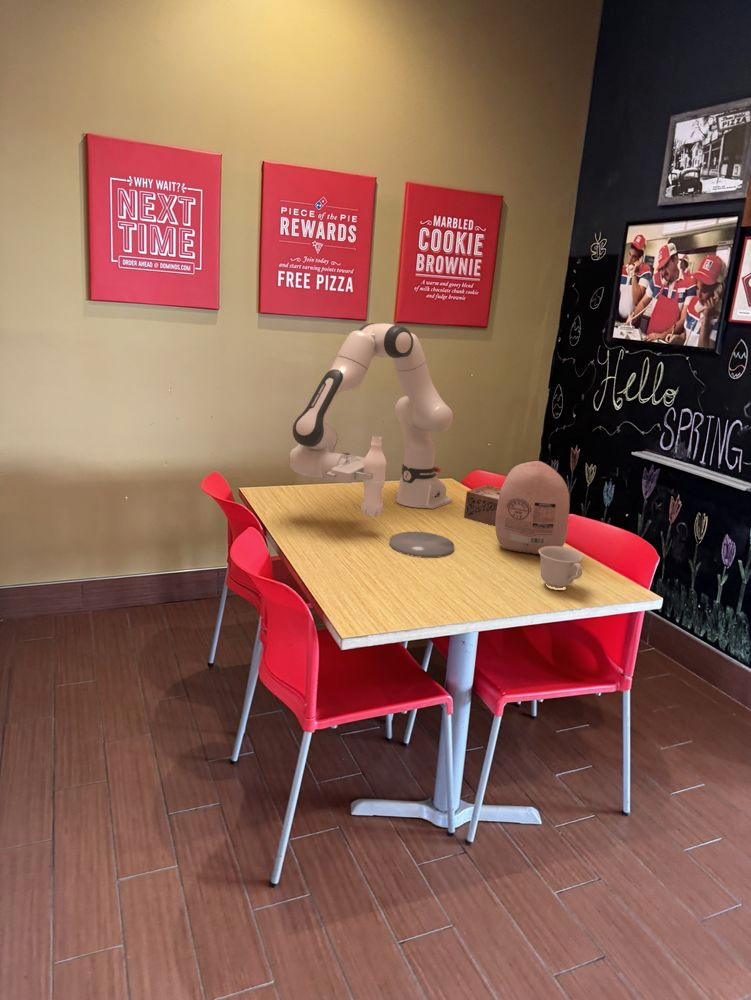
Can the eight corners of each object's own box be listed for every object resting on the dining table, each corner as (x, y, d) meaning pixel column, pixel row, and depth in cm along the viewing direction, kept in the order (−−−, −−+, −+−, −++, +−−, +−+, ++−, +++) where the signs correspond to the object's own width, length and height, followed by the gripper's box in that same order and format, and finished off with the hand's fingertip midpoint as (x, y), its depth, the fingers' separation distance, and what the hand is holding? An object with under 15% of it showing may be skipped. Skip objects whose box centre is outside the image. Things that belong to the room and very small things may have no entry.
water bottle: (383, 512, 232) (389, 435, 225) (381, 518, 225) (387, 440, 218) (361, 509, 233) (366, 433, 226) (358, 516, 226) (364, 438, 219)
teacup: (557, 602, 189) (563, 567, 186) (524, 580, 202) (529, 547, 199) (594, 598, 194) (600, 563, 191) (559, 577, 207) (565, 544, 204)
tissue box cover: (463, 518, 256) (466, 491, 253) (484, 510, 267) (487, 484, 264) (529, 537, 241) (533, 508, 238) (548, 528, 252) (552, 501, 249)
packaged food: (564, 548, 232) (578, 457, 223) (562, 569, 213) (577, 470, 205) (495, 537, 237) (507, 448, 228) (488, 556, 219) (500, 460, 210)
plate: (418, 531, 237) (419, 527, 237) (466, 549, 224) (467, 545, 224) (376, 542, 223) (376, 539, 223) (424, 562, 210) (425, 558, 210)
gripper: (322, 464, 220) (364, 471, 215) (350, 451, 238) (389, 458, 233) (321, 483, 221) (362, 491, 217) (349, 470, 240) (387, 477, 235)
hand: (376, 474), depth 225 cm, fingers closed on water bottle, 7 cm apart
